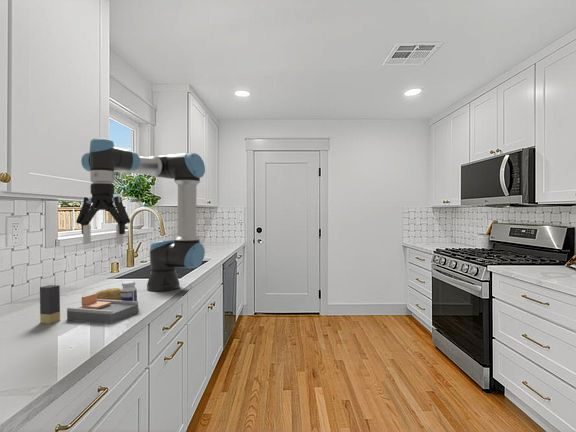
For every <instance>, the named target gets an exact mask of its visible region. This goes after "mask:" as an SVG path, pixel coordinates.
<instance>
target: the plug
mask: <svg viewBox="0 0 576 432" xmlns="http://www.w3.org/2000/svg"><path fill="white" fill-rule="evenodd" d="M60 286H61V285H59V284H56V285H55V284H49V285H45V286H44V285H43V286H40V287H39V309H40V310H39V311H40V312H39V313H40V314H39V316H40V319H39V320H40V321H39V322H40V324H49V325H50V324H53V323H56V322H60V321H61V299H60V298H61V296H60V295H61V294H60V292H61V291H60Z"/></svg>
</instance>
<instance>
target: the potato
mask: <svg viewBox="0 0 576 432" xmlns="http://www.w3.org/2000/svg"><path fill="white" fill-rule="evenodd" d="M121 289H122V288H117V287H116V288H107V289H102V290H99V291H96V292H95V293H96V294H97V299H105V300H121Z"/></svg>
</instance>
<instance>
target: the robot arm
mask: <svg viewBox="0 0 576 432" xmlns="http://www.w3.org/2000/svg"><path fill="white" fill-rule="evenodd" d="M89 143H90V144H89V152H86V153H84V154H83V155H82V157H81V160H80V162H81V166H82V168H83V169H84V170H85V171H87V172H90V173H89V174H90V194H91V197H83V201H82V202H83V203H82V206H81V208H80V211H79V214H78V216H77V218H76V224H79V225H80V226H81V234H82V244H84V245H87V244H91V243H92V241H91V240H92V237H91V232H92V231H91V230H92V229H91V227H92V226H91V224H90V222H91V221H92V219H94V217H95V215H96V214H97V212H98V211H107V212H108V213H110V215H111V216H112V218H113V219H114V221H115V222H116V223H117V224H116V225H115V228H116V229H115V232H116V233H115V234H116V235H115V238H116V241H115V242H116V243H115V244H116V245H123V244H124V235H125V234H126V225H127V224H130V223H131V219H130V217H129V215H128V212H127V211H126V208H125V206H124V204H123V199H122V198H123V197H121V196H114V195H115V184H114V183H115V173H124V174H125V173H126V174H140V175H141V174H142V175H145V174H146V175H149V176H150V177H157V178H164V179H172V180H173V179H174V183H175V184H176V185H177V236H176V237H175V238H174V239H168V240H167V239H166V240H162V241H161V240H160V241H154V242H152V243H151V244H150V247H149V249H150V250H149V258H150V259H149V260H150V261H149V263H150V264H149V265H150V273H149V277H148V280H147V284H146V290H147V291H151V292H165V291H167V292H168V291H174V290H178V289H179V288H180V286H181V285H180V283H181V282H180V280H179V278H178V274H177V270H176V268H182V269H183V268H185V269H195V268H198V267H199V266H201V264H202V262H203V261H204V260H205V259H204V258H205V254H206V250H205V246H204V244H202V243H200V237H198V236H197V187H198V184H199V183H201V178H203V177H204V174H205V173H206V166H205V162H204V160H203V159H202V157H201V156H200V155H199V154H198V153H196V152H186V153H176V154H175V153H174V154H165V155H157V156H156V155H151V156H149V157H147V156H140V155H139V154H138V153H137V152H135V151H134V150H133V151H132V150H130V149H129V150H128V149H123V148H117V147H115V144H114V141H113V140H112V139H108V138H102V137H101V138H93V139H91V140H90V142H89Z"/></svg>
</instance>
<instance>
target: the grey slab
mask: <svg viewBox="0 0 576 432" xmlns="http://www.w3.org/2000/svg"><path fill="white" fill-rule="evenodd" d="M97 301H100V302H111V305H108V306H105V307H102V308H99V309H86V308H82V306H79V307H66V318H67V319H66V320H67V321H76V322H77V321H79V322H90V323H91V322H92V323H101V324H102V323H103V324H113V323H116V322H117V321H120V320H123V319H126V318H128V317H130V316H133V315H135V314H138V313H139V301H138V300H137V301H121V300H105V299H97Z"/></svg>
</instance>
